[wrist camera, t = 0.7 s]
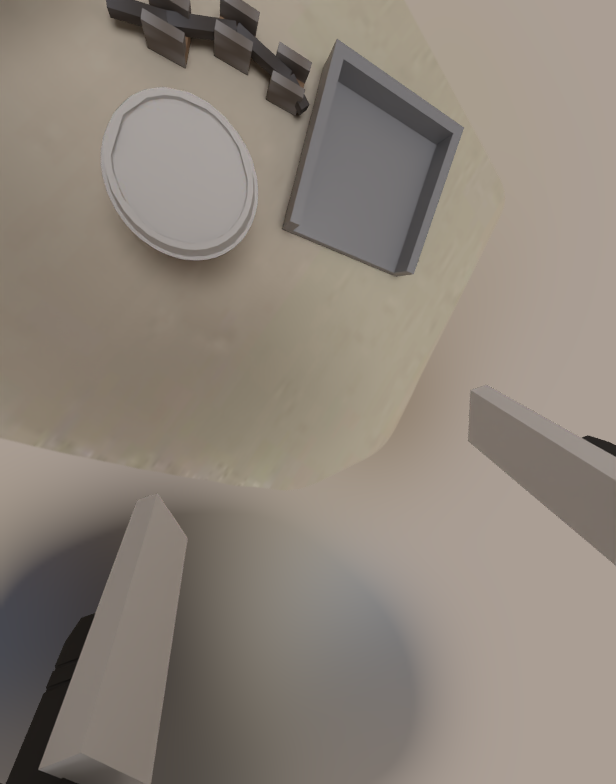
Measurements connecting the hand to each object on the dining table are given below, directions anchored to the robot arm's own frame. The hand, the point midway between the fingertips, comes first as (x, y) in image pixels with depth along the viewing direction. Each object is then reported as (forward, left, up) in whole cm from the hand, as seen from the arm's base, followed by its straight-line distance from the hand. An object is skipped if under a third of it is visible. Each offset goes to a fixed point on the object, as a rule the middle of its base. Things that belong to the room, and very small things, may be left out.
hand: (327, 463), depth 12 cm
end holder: (+7, +22, -25) cm, 34 cm away
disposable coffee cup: (-9, +12, -25) cm, 29 cm away
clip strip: (-8, +26, -25) cm, 37 cm away
